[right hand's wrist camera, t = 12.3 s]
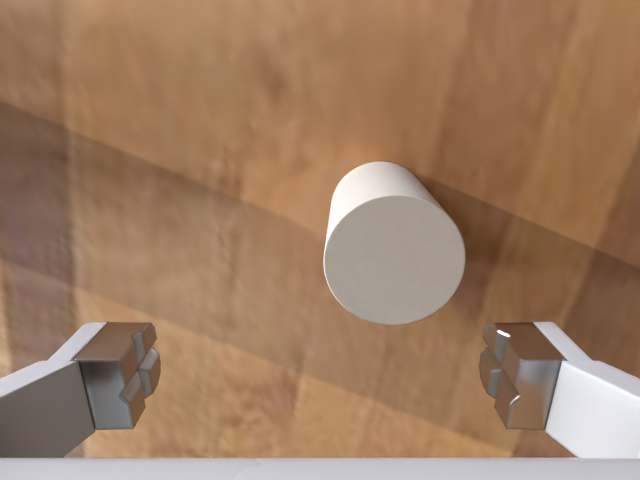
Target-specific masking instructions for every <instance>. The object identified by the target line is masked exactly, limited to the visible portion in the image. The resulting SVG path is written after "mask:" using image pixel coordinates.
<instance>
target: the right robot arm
mask: <svg viewBox="0 0 640 480" xmlns="http://www.w3.org/2000/svg"><path fill="white" fill-rule="evenodd" d="M156 339H157V337H156V332H155V327H154V326H153V325H152V323H138V322H88V323H85V324H84V325H83V326H82V327H81V328H80V329H79V330H78V331H77V332H76V333H75V334H74V335H73V336H72V337H71V338H70V339H69V340H68V341H67V342H66V343H65V344H64V345H63V346H62V347H61V348H60V349H59V350H58V351H57V352H56V353H55V354H54V355H53V356H52V357H51V358H50V359H49V360H48V361H39V362H37V363H34V364H32V365H30V366H28V367H25V368H23V369H21V370H19V371H16V372H14V373H12V374H10V375H7V376H5V377H3V378H1V379H0V480H640V379H639V378H637V377H635V376H633V375H630V374H628V373H626V372H624V371H621V370H619V369H617V368H615V367H612V366H610V365H608V364H606V363H603V362H601V361H592V360H591V359H590V358H589V357H588V356H587V355H586V354H585V353H584V352H583V351H582V350H581V349H580V348H579V347H578V346H577V345H576V344H575V343H574V342H573V341H572V340H571V339H570V338H569V337H568V336H567V335H566V334H565V333H564V332H563V331H562V330H561V329H560V328H559V327H558V326H557V325H556V324H555V323H552V322H521V323H488V324H487V326H486V328H485V331H484V336H483V339H484V341H485V342H486V344H487V345H488V347H487V348H486V349H485V350H484V351H483V352H482V353H481V356H480V364H479V369H480V378H481V381H482V384H483V387H484V389H485V391H486V392H487V394H489V395H490V396H492V397H493V398H495V399H496V401H495V409H496V411H497V413H498V414H499V416H500V418H501V420H502V422H503V423H504V425H505V427H506V429H529V430H545V432H546V433H547V434H549V435H550V436H551V437H552V438H554V439H555V440H556V441H558V442H559V443H560V444H561V445H563V446H564V447H565V448H566V449H568V450H569V451H570V452H572V453H573V454H574V455H575V456H577V457H578V458H62V457H64V456H65V455H66V454H67V453H69V452H70V451H71V450H72V449H74V448H75V447H76V446H78V445H79V444H80V443H81V442H83V441H84V440H85V439H86V438H88V437H89V436H90V435H92V434H93V433H94V432H95V430H110V429H134V427H135V425H136V423H137V422H138V420H139V418H140V416H141V414H142V413H143V411H144V409H145V401H144V399H145V398H147V397H148V396H150V395H151V394H153V392H154V391H155V389H156V387H157V385H158V381H159V376H160V367H161V362H160V355H159V353H158V352H157V351H156V350H155V349H154V348H153V347H152V345H153V344H154V342H155V341H156Z"/></svg>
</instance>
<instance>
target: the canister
mask: <svg viewBox="0 0 640 480" xmlns="http://www.w3.org/2000/svg"><path fill="white" fill-rule="evenodd" d="M465 262H466V252H465V246H464V241H463V238H462V235H461V233H460V231H459V229H458V227H457V225H456V224H455V223H454V221H453V220H452V219H451V217H450V216H449V215H448V214H447V213H446V212H445V210H444V209H443V208H442V207H441V206H440V205H439V203H438V202H437V201H436V200H435V199H434V198H433V196H432V195H431V194H430V193H429V192H428V191H427V190H426V188H425V187H424V186H423V185H422V184H421V183H420V181H419V180H418V179H417V178H416V177H415V176H414V175H413V174H412V173H411V172H410V171H408V170H407V169H405V168H404V167H402V166H399V165H397V164H394V163H390V162H371V163H367V164H364V165H361V166H359V167H357V168H355V169H353V170H352V171H350V172H349V173H348V174H347V175H346V176H345V177H344V178H343V179H342V180H341V181H340V183H339V184H338V186H337V188H336V189H335V192H334V194H333V198H332V202H331V209H330V216H329V223H328V230H327V237H326V244H325V250H324V273H325V277H326V280H327V283H328V286H329V288H330V290H331V292H332V293H333V295H334V296H335V298H336V299H337V300H338V301H339V303H340V304H341V305H342V306H343V307H345V308H346V309H347V310H348V311H350V312H351V313H352V314H354V315H356V316H358V317H359V318H361V319H364V320H366V321H369V322H373V323H377V324H383V325H402V324H408V323H413V322H416V321H419V320H421V319H424V318H426V317H428V316H430V315H431V314H433V313H435V312H436V311H438V310H439V309H440V308H441V307H443V306H444V305H445V304H446V303H447V302H448V301H449V300H450V298H451V297H452V296H453V294H454V293H455V292H456V290H457V288H458V286H459V284H460V282H461V280H462V277H463V273H464V270H465Z"/></svg>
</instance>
